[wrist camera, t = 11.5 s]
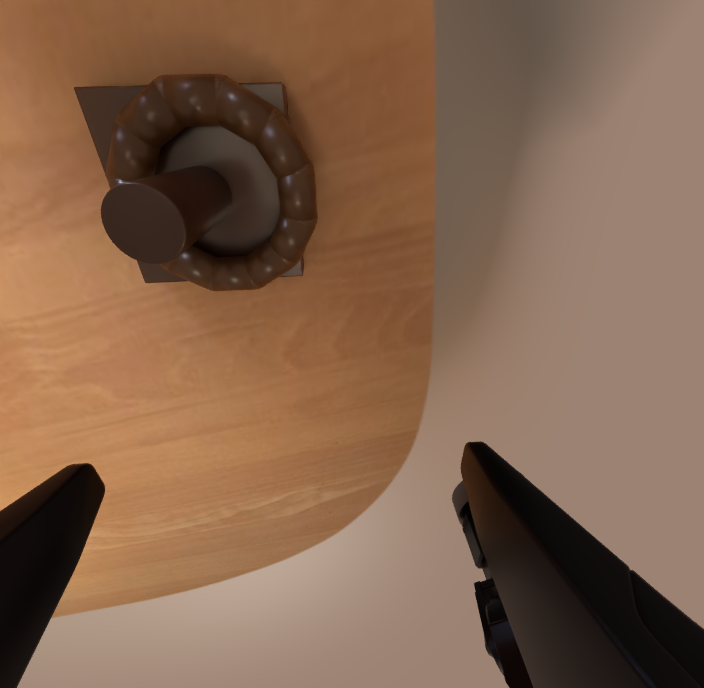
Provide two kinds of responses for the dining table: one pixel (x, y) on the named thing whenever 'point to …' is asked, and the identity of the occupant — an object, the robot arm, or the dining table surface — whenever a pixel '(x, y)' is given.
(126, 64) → the dining table surface
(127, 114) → the ring
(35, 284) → the dining table surface
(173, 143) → the stand
